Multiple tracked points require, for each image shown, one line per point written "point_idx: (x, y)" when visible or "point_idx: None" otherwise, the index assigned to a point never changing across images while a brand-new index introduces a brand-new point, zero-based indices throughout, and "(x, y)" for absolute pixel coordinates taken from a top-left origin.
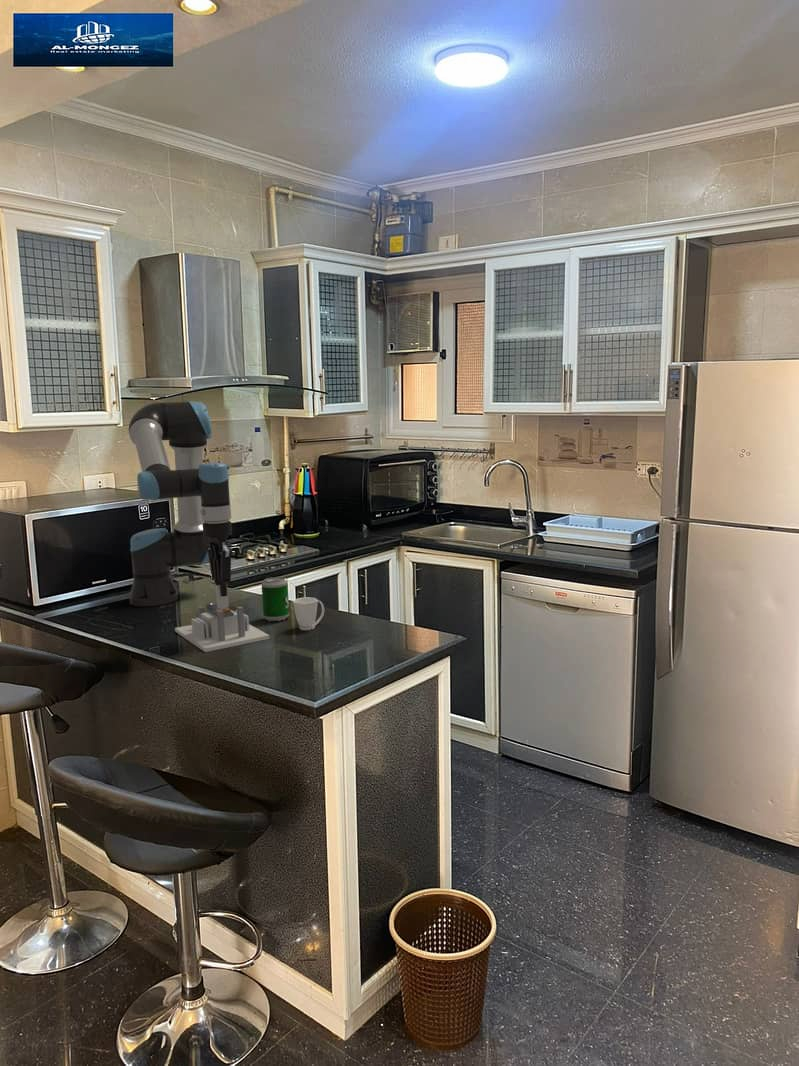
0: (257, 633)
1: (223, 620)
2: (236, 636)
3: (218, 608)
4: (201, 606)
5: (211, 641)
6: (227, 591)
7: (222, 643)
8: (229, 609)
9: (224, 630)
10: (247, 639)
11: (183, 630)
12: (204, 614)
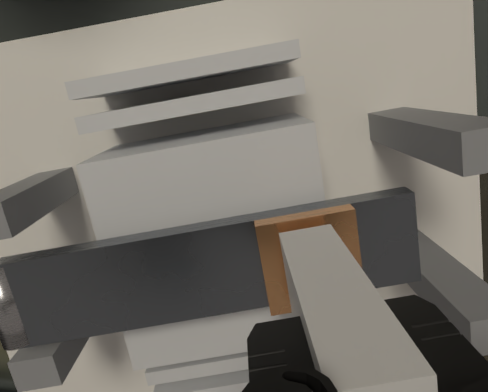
0: (387, 18)
1: (476, 278)
2: (374, 153)
3: (269, 296)
4: (15, 367)
5: (388, 292)
6: (383, 300)
7: (459, 249)
8: (354, 218)
9: (439, 247)
10: (474, 108)
11: (100, 384)
12: (176, 352)
